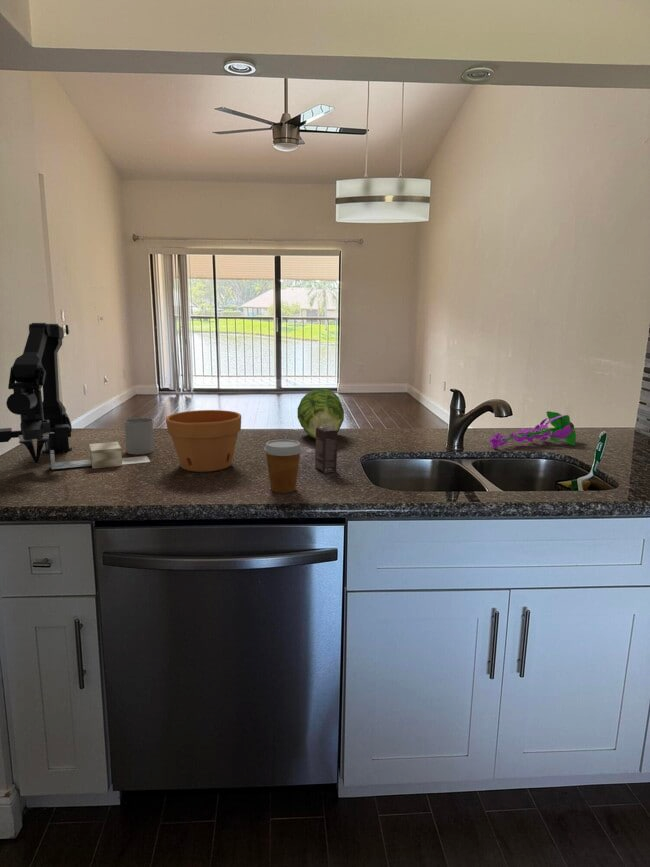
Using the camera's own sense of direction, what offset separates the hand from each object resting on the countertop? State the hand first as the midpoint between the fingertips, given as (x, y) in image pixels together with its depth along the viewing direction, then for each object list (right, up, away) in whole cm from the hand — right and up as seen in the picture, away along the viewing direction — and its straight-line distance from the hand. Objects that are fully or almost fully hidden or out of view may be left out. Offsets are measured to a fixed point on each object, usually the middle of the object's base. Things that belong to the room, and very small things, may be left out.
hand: (36, 463), depth 163 cm
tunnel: (+16, 0, +8) cm, 18 cm away
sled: (+11, -1, +5) cm, 12 cm away
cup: (+22, +2, +23) cm, 32 cm away
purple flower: (+152, +4, +37) cm, 157 cm away
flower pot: (+46, -1, +7) cm, 46 cm away
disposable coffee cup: (+70, -6, -14) cm, 72 cm away
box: (+81, -2, +4) cm, 81 cm away
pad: (+24, 0, +11) cm, 26 cm away
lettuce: (+79, +6, +43) cm, 90 cm away
